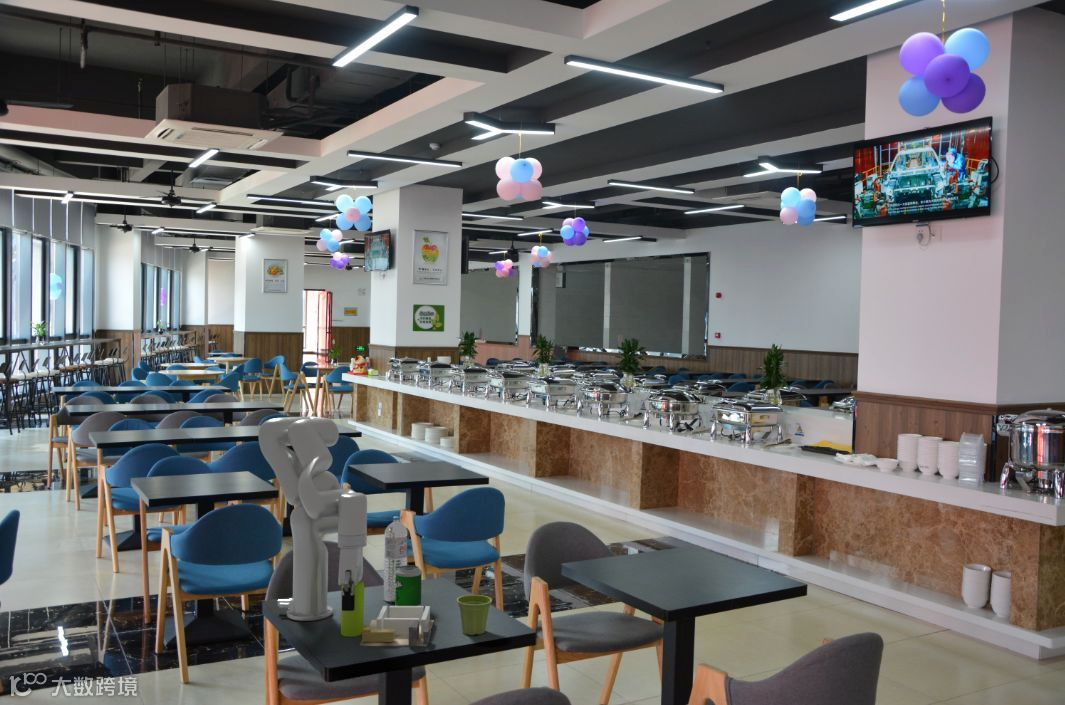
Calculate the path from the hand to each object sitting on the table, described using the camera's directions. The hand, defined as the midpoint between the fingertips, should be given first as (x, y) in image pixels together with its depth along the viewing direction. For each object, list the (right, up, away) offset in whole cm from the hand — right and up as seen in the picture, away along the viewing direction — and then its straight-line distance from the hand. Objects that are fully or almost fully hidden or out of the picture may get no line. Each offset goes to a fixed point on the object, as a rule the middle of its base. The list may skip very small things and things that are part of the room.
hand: (351, 605), depth 224 cm
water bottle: (+6, -8, +31) cm, 33 cm away
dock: (+13, -8, +5) cm, 16 cm away
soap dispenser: (0, -8, 0) cm, 8 cm away
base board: (+12, -8, +1) cm, 15 cm away
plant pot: (+32, -8, +3) cm, 33 cm away
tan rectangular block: (+8, -7, -7) cm, 13 cm away
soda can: (+12, -8, +23) cm, 27 cm away
